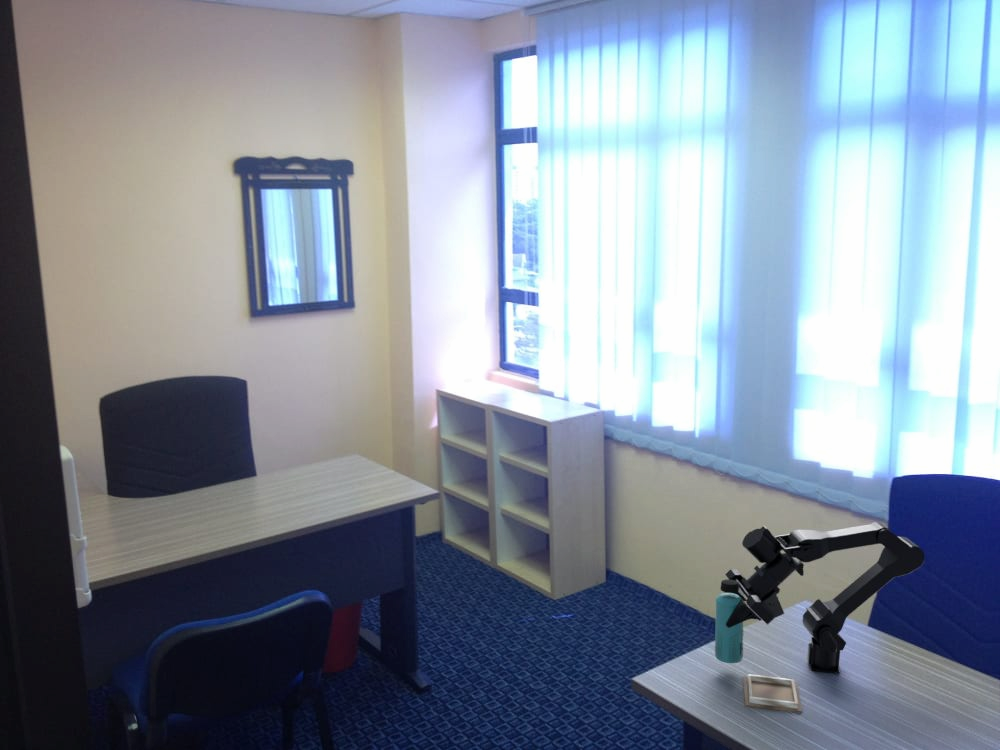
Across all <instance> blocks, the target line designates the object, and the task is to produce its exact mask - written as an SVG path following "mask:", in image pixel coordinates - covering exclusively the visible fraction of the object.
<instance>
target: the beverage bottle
mask: <svg viewBox="0 0 1000 750" xmlns="http://www.w3.org/2000/svg"><path fill="white" fill-rule="evenodd" d="M719 589H720V591H722V592H723V593H720V594H719V595H717V597H716V598H715V621H714V622H715V630H714V632H715V634H714V654H715V655H714V656H715V659H716V660H717V661H720V662H721V663H722V662H723V663H725V664H737V663H740V662H741V661H742V659H743V658H744V633H745V632H744V622H741V623H739V624H737V625H735V626H732V627H730V628H728V627H727V626H726V623H727V621H728V619H729V617H730V616H731V614H732V613H733V611H734V609H735V608H736V606H737V605H738V603H739V601H740V600H741V599H742V598H741V597H740V596H738V595H737V594H734V593H736V592H738V591H739V587H738V582H737V581H735V580H729V579H723V580H721V582H720V588H719ZM724 592H727V593H724Z"/></svg>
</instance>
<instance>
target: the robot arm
mask: <svg viewBox="0 0 1000 750" xmlns="http://www.w3.org/2000/svg"><path fill="white" fill-rule="evenodd" d="M879 544H880V545H883V546H884V548H882V551H881V553H880V555H879V558H878V561H876V562H875V563H874V564H873V565H872V566H871V567H869V568H868V569H867V570H866V571H865V572H864V573H862V574H861V575H860V576H858V578H856V579H855V580H854V581H852V583H851V584H849V585H848V586H847V587H846V588H844V589H843V590H842V591H841V592H840V593H838V595H836V596H835V597H834V598H832V599H831V600H828V601H823V600H822V599H821V598H818V599H816V600H815V601H814V602H813V604H811V605H810V606H808V607H806V608H805V610H806V611H805V612H804V613H803V615H802V625H803V626H804V628H805V629H806V630H807V632H808V633H809V635H810V636H811V637H810V638H811V641H810V642H809V643H807V644H808V646H807V656H806V657H807V663H808V664H809V667H810V670H811V671H814V672H821V673H830V674H831V673H833V674H841V673H840V672H841V670H840V657H841V651H844V649H845V646H846V645H847V642H846V640H845V639H844V638H843V637H842V636H841V635H840V634H839V633H840V632H841V631H842V630H843V627H844V626H845V625H844V624H845V622H846V619H847V618H848V617H849V616H850V615H851V614H852V613H854V612H855V611H856V610H857V609H858V608H859V607H861V606H862V605H863V604H864V603H866V602H868V600H869V599H871V597H873V596H874V595H875V594H876V593H877V592H879V591H880V590H881V589H882V588H884V587H885V585H888V583H889V582H891V581H892V580H893V579H894V578H897V577H902V576H905V575H909V574H911V573H913V572H915V571H916V570H918V569H919V568H921V567H922V566H923V564H924V563H925V552H924V550H923V549H922V548H921V547H919V546H918V545H917V544H916V543H915V542H913V541H911V540H910V539H909V538H908V537H906V536H897V535H896V534H895V533H894V532H892V531H891V529H890V528H889V527H887V526H886V525H884V524H883V523H882V522H878V521H877V522H876V521H873V522H871V523H870V524H869V523H868V524H865V525H864V524H863V525H857V526H852V527H851V526H850V527H845V528H839V529H834V530H828V531H820V530H814V529H795V530H792V531H791V532H790V533H785V534H779V535H773V534H772V532H771V531H770V530H769V529H768V528H767V527H766V525H762V526H761V527H760V528H755V529H753V530H751V531H749V532H748V533H747V534H746V535H745V536H744V537H743V539H742V546H743V548H744V549H745V550H746V551H747V552H748V553H750V554H751V555H752V557H754V558H755V560H756V561H758V563H761V564H762V565H761V566H760V567H759V566H758V565H756V566H755V567H754V568H753V570H754V572H753V573H752V574H751V575H750V576H749V577H748V578H747V579H746V577H745V576H744V575H742V573H741V572H739V571H738V570H737V569H736V568H731V569H729V570H728V571H727V572H726V573H725V576H726V577H727V580H735V581H737V582H738V587H739V591H738V592H736V593H734V594H737V595H738V596H740V597H741V598H742V599H741V600H740V601H739V603H738V605H737V606H736V608H735V609H734V611H733V613H732V614H731V616H730V617H729V619H728V621H727V623H726V626H727V627H728V628H730V627H732V626H735V625H737V624H739V623H741V622H743V623H744V622H746V621H749V620H757V621H758V622H761V621H763V622H764V623H765V624H766V625H769V624H770V623H771V622H772V621H773V620H775V619H777V617H778V618H779V617H780V616H782V615H784V614H785V611H784V610H783V606H782V604H781V602H780V600H779V597H778V596H777V595H779V593H780V590H781V589H780V588H779V586H780V585H781V584H782V583H784V582H785V581H786V580H787V579H788V578H789V576H791V575H792V574H793V573H794V572H795V571H796V573H797V574H798V575H800V577H801V576H802V577H803V576H804V566H805V564H804V563H811V562H814V561H817V560H821V559H823V558H824V557H825V556H826V555H828V554H829V553H833V552H837V551H843V550H850V549H855V548H863V547H867V546H868V547H869V546H872V545H873V546H874V545H879ZM781 551H783V552H784V553H782V552H781ZM795 558H796V559H795ZM723 593H727V592H723Z"/></svg>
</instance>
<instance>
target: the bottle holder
mask: <svg viewBox="0 0 1000 750" xmlns="http://www.w3.org/2000/svg"><path fill="white" fill-rule="evenodd" d="M742 679H743V680H742V681H743V693H744V706H745V707H749V708H758V709H764V710H765V708H766V710H773V711H782V712H788V713H789V712H790V713H797V714H798V713H799V714H803V707H802V702H801V697H800V691H799V684H798V682H796V681H795V679H794V678H784V677H777V676H769V675H768V676H767V675H759V674H750V673H747V676H743V677H742Z"/></svg>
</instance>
